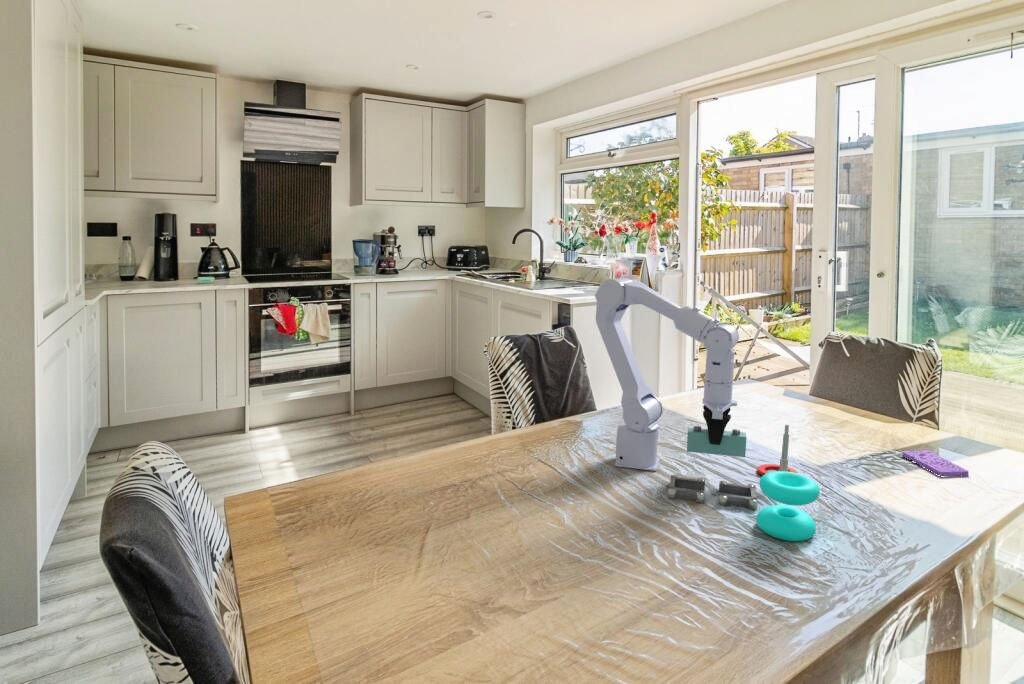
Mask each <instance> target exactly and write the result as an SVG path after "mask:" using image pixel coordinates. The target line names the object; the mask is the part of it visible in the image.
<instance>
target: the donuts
mask: <svg viewBox="0 0 1024 684" xmlns="http://www.w3.org/2000/svg"><path fill="white" fill-rule="evenodd" d="M768 472H769V473H767V474H765V475H763V476H762V475H761V478H760V480H759V482H758V483H759V489H760V490H761V492H762V493H763V494H764V496H765V497H768V498H769V499H770V500H772V501H775V502H777V503H780V504H771V505H768V506H765V507H763V508H761V509H760V510H759V511H758V512H757V515H756V523H757V526H758V527H759V528H760V529H761V530H762V532H764V533H765V534H767V535H769V536H771V537H773V538H776V539H779V540H783V541H789V542H802V541H806V540H809V539H811V538H812V537H813V536H814V535H815V533H816V532H817V531H816V530H817V526H816V522H815V520H814V519H813V517H811V516H810V514H808V513H806V512H805V511H803V510H801V509H799V508H797V507H794V506H806V505H809V504H811V503H815V501H816V500H818V498H819V497H820V496H819V495H820V487H819V484H817V482H815V480H813V479H812V478H810V477H808V476H806V475H803V474H801V473H798V474H797V473H793V472H786V471H777V470H776V471H768ZM783 504H784V505H783Z"/></svg>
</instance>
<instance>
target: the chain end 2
mask: <svg viewBox="0 0 1024 684" xmlns="http://www.w3.org/2000/svg"><path fill="white" fill-rule="evenodd" d="M756 489H757V487H756V484H751V483H750V484H749V483H748V484H747V485H746V484H736V483H731V482H730V483H728V481H726V480H719V484H718V492H719V498H718V505H719V506H722V507H727V506H734V507H735V506H737V507H742V508H748V509H749V510H751V511H757V510H758V502H759V500H758V496H757V495H758V494H757V490H756Z"/></svg>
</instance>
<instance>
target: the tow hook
mask: <svg viewBox="0 0 1024 684" xmlns="http://www.w3.org/2000/svg"><path fill="white" fill-rule="evenodd" d="M789 429H790V425H789V424H785V425H784V432H783V435H782V444H781V445H782V447H781V458H780V460H779V461H780V462H779V464H773V463H766V464H760V465H758V467H757V471H756V472H757V473H758V474H759V475H760V476H761V477H762V476H763V475H765V474H767V473H769V472H770V471H768V470H776V471H786V472H793V473H797V474H799V472H798V471H797V470H795V468H792V467H789V458H788V456H789V455H788V454H789V445H790V444H789V443H790V434H789Z"/></svg>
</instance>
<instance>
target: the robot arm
mask: <svg viewBox="0 0 1024 684" xmlns="http://www.w3.org/2000/svg"><path fill="white" fill-rule="evenodd" d="M594 297H595V300H596V307H595V308H596V310H595V323H596V326H597V329H598V331H599V333H600V336H601V338H602V341H603V344H604V346H605V348H606V351H607V353H608V357H609V358H610V362H611V365H612V367H613V370H614V372H615V375H616V377H617V380H618V383H619V385H620V388H621V390H622V395H621V399H620V404H621V407H622V419H623V422H624V424H619V425H618V426H617V431H616V438H615V439H616V440H615V443H616V445H615V463H614V466H615V467H619V468H627V469H628V468H629V469H637V470H645V471H653V472H656V471H658V467H659V463H660V458H661V457H660V456H658V446H659V445H658V443H659V441H658V440H659V424H658V420H659V419H660V418H661V416H662V415H663V411H664V407H663V404H662V402H661V400H660V399H659V398H658V397H657V396H656V395H655V393H654V391H653V389H652V388H651V387H650V386H649V385H647V384H646V382H645V380H644V378H643V376H642V375H643V374H642V372H641V369H640V368H639V365H638V362H637V359H636V357H635V355H634V352H633V350H632V349H633V348H632V347H631V345H630V341H629V338H628V337H627V334H626V331H625V329H624V326H623V324H622V318H623V317H624V315H625V313H626V311H627V309H628V307H630V306H631V305H632V306H633V305H634V306H635V305H643V306H644V307H647V308H649V309H651V310H653V311H655V312H656V313H658V314H660V315H661V316H663V317H666V318H668V319H670V320H671V321H673V323H674V327H675V329H676V330H678V331H680V332H681V333H684V334H685V335H687V336H689V337H690V338H692V339H693V340H695V341H697V342H699V343H701V344H703V346H704V348H705V350H706V359H705V370H704V371H705V373H704V386H703V398H702V404H703V406H702V408H703V411H702V415H703V416H702V417H703V418H704V421H705V424H706V427H707V429H708V436H709V442H710V444H714V445H720V443H721V441H722V437H723V433H724V431H726V427H727V425H728V423H729V422H730V420H731V419H732V414H729V413H730V412H731V407H737V406H738V401H737V400H732V399H733V384H734V372H735V347H736V345H737V344H738V342H739V341H740V340H739V339H740V338H739V337H740V335H739V332H738V330H737V328H736V327H735V326H733V325H732V324H731V323H730V322H721V319H719V318H718V317H715V318H713V317H711V316H709V315H708V314H706V313H704V312H702V311H701V309H702V308H701V307H699V305H698V306H697V305H694V306H691V305H685V306H684V307H682V306H680V305H678V304H677V303H675V302H673V301H672V300H670V299H668V298H667V297H665V296H663V295H662V294H661V293H659V292H658V291H656V290H654V289H652V288H651V287H649V286H647V285H646V284H645V283H644V282H642V281H639V280H636V279H634V278H632V277H631V276H622V277H619V278H614V279H613V278H612V279H611V278H609V279H605V280H604V281H602V282H601V283H600V285H599V286H598V288H597V290H596V293H595V294H594ZM720 322H721V323H720Z"/></svg>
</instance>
